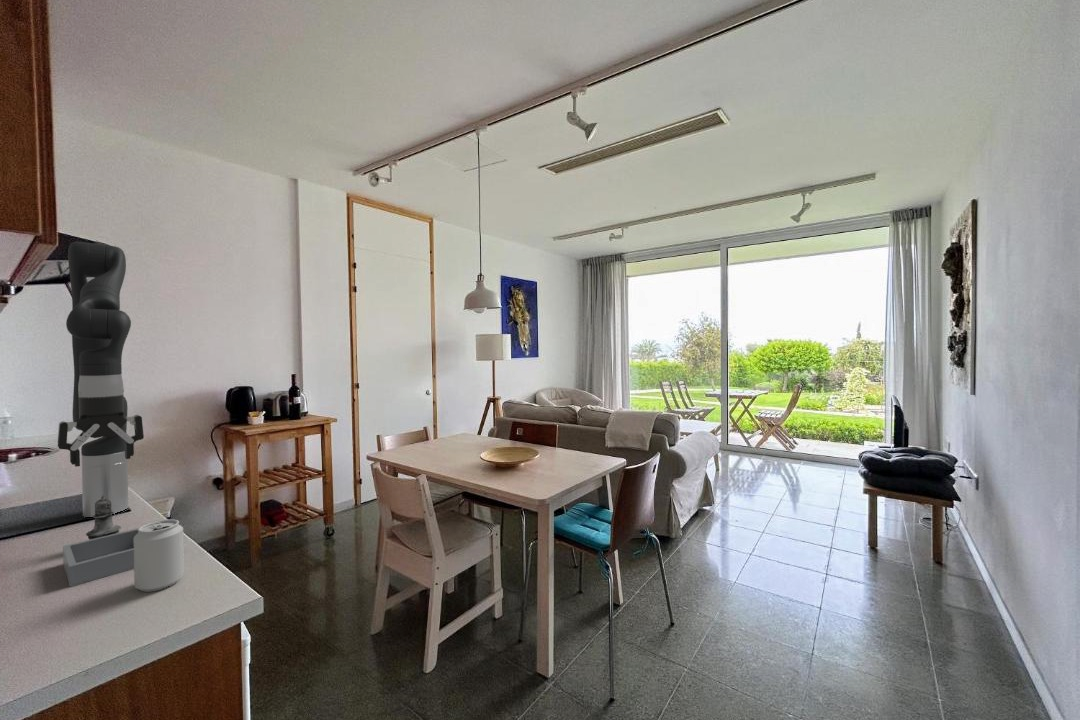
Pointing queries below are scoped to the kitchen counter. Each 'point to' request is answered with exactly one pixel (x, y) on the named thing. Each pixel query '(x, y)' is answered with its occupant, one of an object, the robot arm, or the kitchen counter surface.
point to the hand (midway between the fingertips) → (103, 462)
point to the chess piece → (103, 520)
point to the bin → (99, 565)
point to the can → (158, 555)
